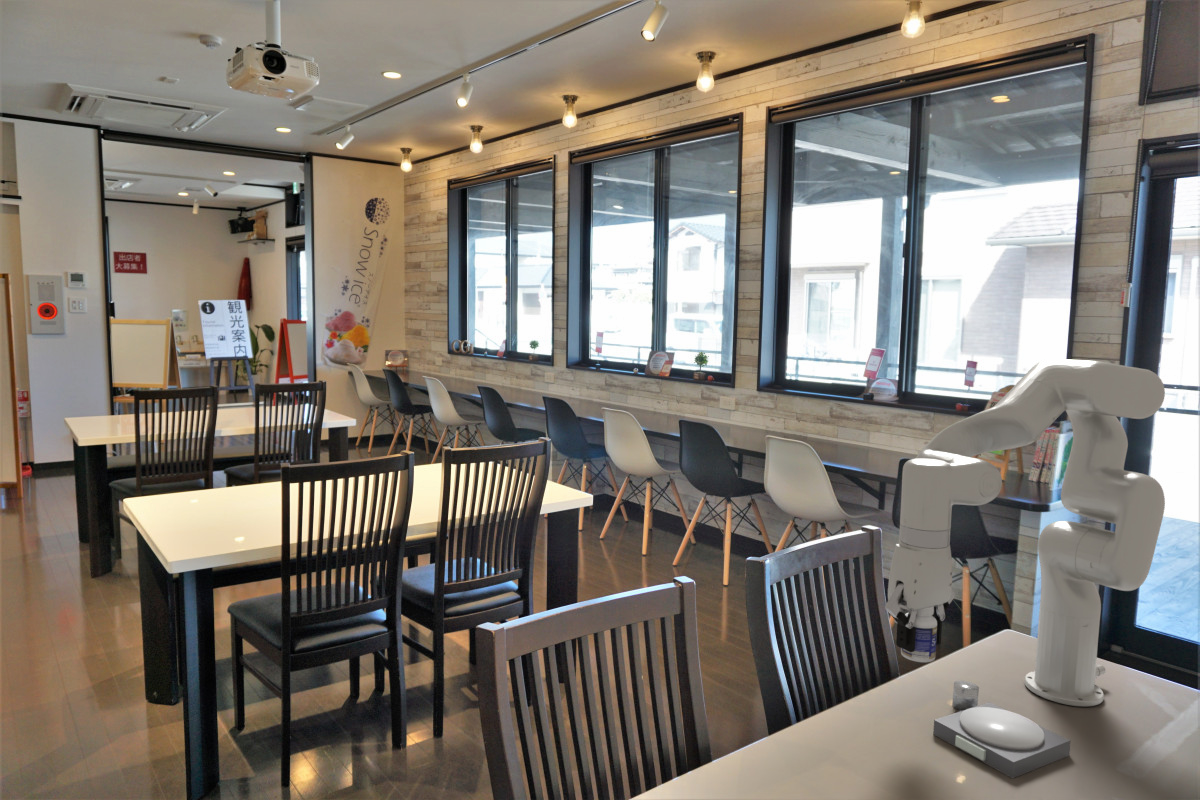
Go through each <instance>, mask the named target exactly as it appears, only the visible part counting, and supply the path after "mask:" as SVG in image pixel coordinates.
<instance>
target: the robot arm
mask: <svg viewBox="0 0 1200 800" xmlns="http://www.w3.org/2000/svg"><path fill="white" fill-rule="evenodd" d="M1165 392H1166V391H1165V385H1164V382H1163V381H1162V379H1161V378H1160V376H1159V375H1158V374H1157V373H1156V372H1153V371H1151V370H1150V369H1147V368H1139V367H1135V366H1129V365H1122V364H1118V363H1111V362H1106V361H1100V360H1089V359H1087V360H1084V359H1066V358H1050V359H1044V360H1041V361H1040V362H1038V363H1036V364H1035V365H1034V366H1032V367H1031V368H1030V369H1029V370H1028V372H1026V374H1024V376H1023V377H1021V378H1020V379H1019V380H1018V382H1017V383H1016V384H1015V385H1014V386H1013V387H1012V388H1011V389H1010V390H1009V391H1008V392H1006V394H1005V395H1003V397H1001V399H1000V400H999V401H998V402H997V403H996V404H994V405H993V406H992V407H990V408H989V409H985V410H982V411H980V412H978V413H975V414H972V415H971V416H968V417H966V418H964V419H962V420H959V421H957V422H954V423H953V424H950V425H949V426H947V427H945V428H944V429H942V430H941V431H940V432H938V433H937V434H936V435H934V436H933V438H932V439H931V440H929V442H927V443H926V445H925V446H923V448H922V449H921V450H920V451H919V453H918V454H917V456H915V458H912V459H909V460H907V461H906V462H905V463H904V465H903V467H902V476H901V477H902V478H901V498H900V501H901V502H900V516H899V536H898V543H896V544H895V547H894V550H893V554H892V558H891V564H890V568H889V569H890V570H889V576H888V585H887V587H888V588H887V602H886V604H885V606H884V609H885V611H886V612H888V613H889V615H891V617H892V618H893V620H894V623H896V646H897V647H899V648H900V649H901V648H902V649H904V650H907V651H909V652H914V650H915V636H916V628H914V627H913V624H914V620H915V617H916V613H917V610H919V609H924V608H927V607H932V606H934V614H933V615H932V616H933V617H934V618H935V619H936V620H937V637H936V646H939V645H941V644H942V627H943V621H944V620H945V619H946V614H945V613H946V612H947V611H948V609H949V606H950V604H951V603H952V602H953V600H954V598H955V597H956V593H955V591H954V589H953V588H952V587H953V561H952V559H953V558H952V550H951V549H952V548H951V544H950V542H951V527H952V508H953V506H954V505H965V506H983V505H986V504H988V503H990V502H992V501H994V500H995V499H996V498H997V496H998V495H999V494H1000V492H1001V490H1002V487H1003V478H1002V475H1001V472H1000V470H999V469H998V468H997V467H996V466H995V465H994V464H992V463H991V462H990V461H987V460H984V459H981V458H978V457H977V458H976V457H975V456H977V455H978V456H979V455H981V454H984V453H990V452H998V451H1004V450H1011V449H1017V448H1021V447H1025V446H1029V445H1031V444H1033V443H1034V442H1037V440H1038V439H1039V438H1040V437H1041V436H1042V435H1043V434H1044V432H1045V431H1047V429H1048V428H1050V426H1051V425H1052V424H1054V422H1055V421H1056V420H1057V418H1059V417H1060V416H1061V415H1062V414H1063V413H1064V412H1066V413H1067V416H1068V418H1069V420H1070V424H1071V427H1072V437H1073V438H1072V443H1071V448H1070V449H1071V450H1070V452H1069V458H1068V460H1067V464H1066V469H1065V471H1064V476H1063V481H1062V485H1061V491H1060V501H1061V504H1062V506H1063V507H1064V508H1065V509H1066V510H1067V511H1069V512H1071V513H1073V514H1075V515H1079V516H1082V517H1086V518H1089V519H1094V520H1097V521H1101V522H1102V521H1103V522H1106V523H1110V524H1114V525H1115V530H1114V531H1113V530H1108V529H1105V528H1101V527H1097V526H1094V525H1089V524H1085V523H1081V522H1078V521H1077V522H1076V521H1069V520H1060V521H1059V520H1057V521H1055V522H1054V521H1053V522H1051V523H1049V524H1048V525H1046V526H1045V527H1044V528H1043V530H1041V532H1040V535H1039V537H1038V542H1037V552H1038V559H1039V560H1038V561H1039V565H1040V577H1041V581H1040V583H1041V584H1040V585H1041V587H1040V599H1039V602H1040V603H1039V611H1038V626H1037V636H1036V637H1037V639H1036V649H1035V651H1036V652H1035V665H1034V666H1035V667H1034V671H1030V672H1027V673H1026V674H1025V676H1024V685H1025V687H1026V688H1027V689H1028V690H1030V691H1031V692H1032V693H1034V694H1035V695H1037V696H1040V697H1041V698H1043V699H1046V700H1048V701H1051V702H1054V703H1058V704H1062V705H1065V706H1066V705H1067V706H1073V707H1094V706H1098V705H1100V704H1102V702H1103V701H1104V692H1103V690H1102V689H1101V688H1100V687H1099V686H1098V685H1097V684H1095V681H1096V679H1097V677H1099V676H1102V675H1105V674H1106V672H1107V671H1106V667H1105V666H1104V665H1103V664H1100V663H1099V664H1098V663H1097V657H1098V645H1099V644H1098V643H1099V634H1100V621H1101V611H1102V601H1101V597H1100V594H1099V591H1098V588H1097V586H1096V584H1098V585H1100V586H1103V587H1104V586H1105V587H1108V588H1111V589H1115V590H1118V591H1123V592H1131V591H1135V590H1137V589H1139V588H1140V587H1141V586H1142V585H1143V584H1144V583H1145V581H1146V579H1147V578H1148V575H1149V573H1150V570H1151V567H1152V563H1153V558H1154V555H1155V550H1156V546H1157V543H1158V539H1159V534H1160V530H1161V527H1162V522H1163V518H1164V512H1165V507H1166V506H1165V504H1166V501H1165V493H1164V489H1163V488H1162V486H1161V484H1160V482H1159V481H1157V479H1156V478H1154V477H1152V476H1151V475H1147V474H1145V473H1140V472H1136V471H1130V470H1125V469H1124V468H1125V462H1126V457H1127V452H1128V447H1129V446H1128V445H1129V442H1128V436H1127V434H1126V431H1125V429H1124V427H1123V425H1122V423H1121V422H1120V420H1119V417H1120V418H1128V419H1136V420H1142V419H1143V420H1144V419H1146V418H1149V417H1151V416H1153V415H1154V414H1155V413H1157V412H1158V411H1159V410H1160V408H1161V407H1162V405H1163V403H1164V400H1165V395H1166V393H1165ZM907 610H908V611H909V612H908V611H907ZM906 611H907V613H908V617H906V615H905V614H906V613H905V612H906Z"/></svg>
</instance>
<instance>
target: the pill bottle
mask: <svg viewBox="0 0 1200 800" xmlns="http://www.w3.org/2000/svg"><path fill="white" fill-rule="evenodd" d="M906 611H907V612H906V613H904V614H905V615H906V617H908V613H909V611H908V610H906ZM933 614H934V606H932V607H927V608H924V609H919V610H917V613H916V617H915V620H914V624H913V627H914V628H916V636H915V650H914V652H909V651H907V650H904V649H902V648H900V654H901V656H902V657H904V658H905V659H907V660H908V661H909V660H910V661H913V662H917V663H930V662H934V660H935V659H936V655H937V653H936V650H937V645H936V637H937V620H936V619H935V618H934V617H933V616H932V615H933Z"/></svg>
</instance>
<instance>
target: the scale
mask: <svg viewBox="0 0 1200 800" xmlns="http://www.w3.org/2000/svg"><path fill="white" fill-rule="evenodd" d="M932 735H934V736H935V737H937V738H939V739H941V740H943V741H945V742H946V743H948V744H950V745H951V746H954V747H955V748H957V749H959V750H960V751H962V752H964V753H966V754H968V755H969V756H972V757H973V758H976V759H977V760H978V761H981V762H982V763H983V764H986V765H988V766H990V767H991V768H994V769H995V770H997V771H999V772H1000V773H1002V774H1004V775H1005V776H1008V777H1009V778H1011V779H1014V778H1017V777H1019V776H1022V775H1024V774H1027V773H1029V772H1032V771H1035V770H1037V769H1039V768H1041V767H1044V766H1047V765H1049V764H1051V763H1055V762H1057V761H1060V760H1062V759H1065V758H1067V757H1070V752H1071V751H1070V750H1071V739H1068V738H1066V737H1064V736H1063V735H1060V734H1058V733H1056V732H1054V731H1052V730H1050V729H1048V728H1045V727H1043V726H1041V725H1039V724H1037V723H1036V722H1035V721H1033V720H1031V719H1029V718H1028V717H1026V716H1023V715H1022V714H1019V713H1017V712H1013V711H1010V710H1008V709H1006V708H1003V707H1001V706H999V705H998V704H995V703H993V702H991V701H989V702H986V703H982V704H980V705H979V704H978V706H976V707H973V708H969V709H966V710H963V711H958V712H955V713H954V712H953V713H951V714H948V715H945V716H941V717H939V718H936V719H933V734H932Z"/></svg>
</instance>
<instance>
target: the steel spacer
mask: <svg viewBox="0 0 1200 800" xmlns="http://www.w3.org/2000/svg"><path fill="white" fill-rule="evenodd" d="M952 687H953V690H952V691H953V692H952V701H951V702H952V704H951V705H952V707H953V708H954V709H955V710H957V711H958V712H960V711H963V710H966V709H969V708H973V707H976V706H979V703H978V702H979V689H980V688H979V687H980V686H979V685H977V684H976V683H973V682H972V681H967V680H956V681H954V682H953V686H952Z"/></svg>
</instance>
